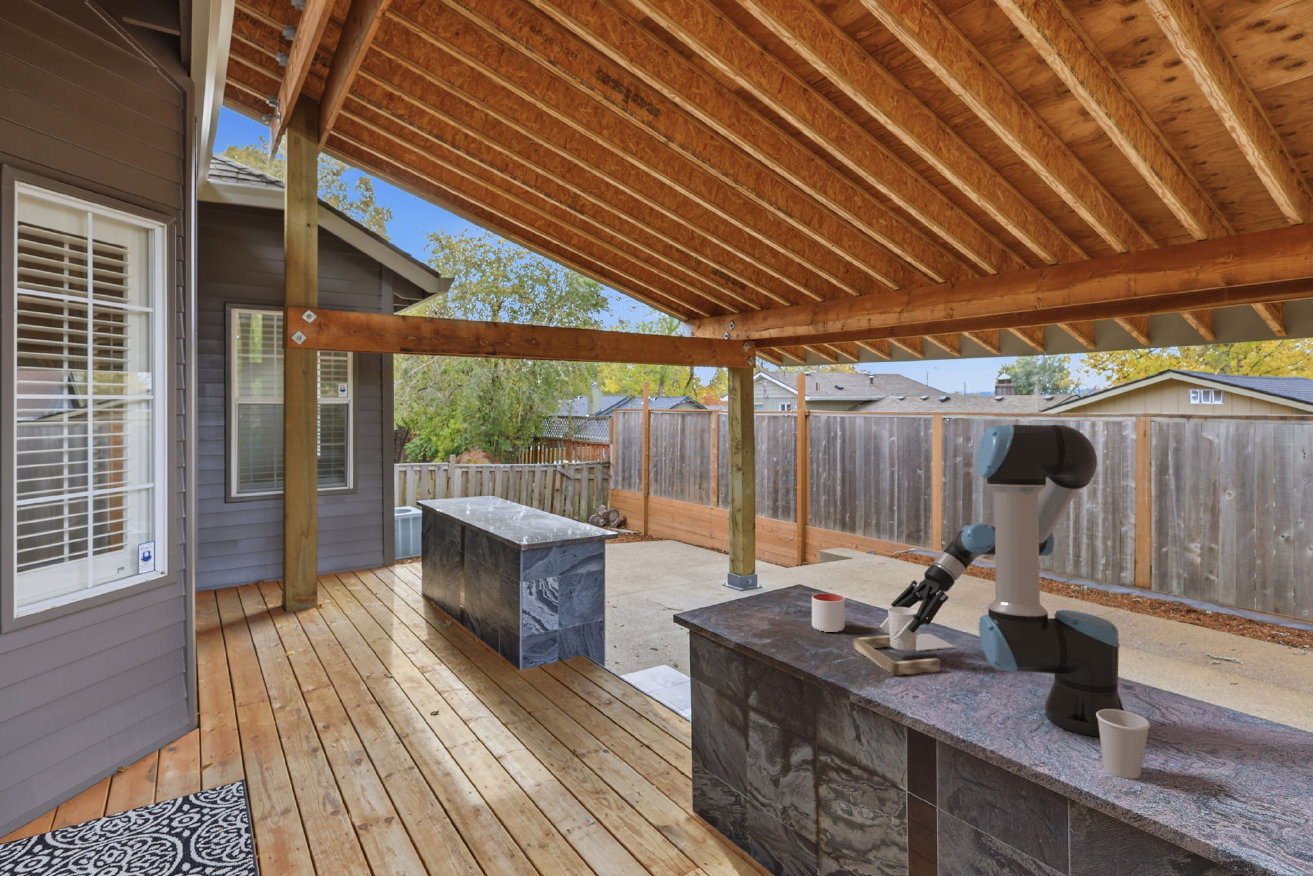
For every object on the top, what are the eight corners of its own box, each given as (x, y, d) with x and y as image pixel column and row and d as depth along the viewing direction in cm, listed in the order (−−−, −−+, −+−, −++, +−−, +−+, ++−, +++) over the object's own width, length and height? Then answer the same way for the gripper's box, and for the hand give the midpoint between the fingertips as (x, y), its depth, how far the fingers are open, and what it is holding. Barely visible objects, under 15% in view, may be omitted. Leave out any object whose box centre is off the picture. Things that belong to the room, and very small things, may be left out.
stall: (894, 644, 197) (894, 634, 197) (939, 671, 177) (939, 659, 177) (852, 648, 194) (852, 638, 194) (893, 675, 174) (893, 664, 174)
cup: (805, 626, 215) (805, 595, 214) (830, 622, 219) (830, 591, 219) (825, 635, 206) (825, 603, 205) (851, 631, 210) (851, 599, 210)
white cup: (913, 642, 190) (913, 607, 189) (921, 652, 182) (922, 615, 182) (884, 641, 190) (884, 606, 190) (891, 651, 183) (891, 614, 182)
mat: (955, 648, 194) (955, 646, 194) (918, 651, 191) (918, 649, 191) (929, 635, 206) (929, 633, 206) (894, 638, 203) (894, 636, 203)
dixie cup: (1127, 759, 131) (1128, 708, 131) (1160, 782, 123) (1161, 727, 123) (1085, 759, 131) (1085, 709, 131) (1115, 783, 123) (1116, 728, 122)
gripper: (977, 590, 179) (923, 655, 176) (929, 574, 199) (880, 632, 196) (960, 571, 178) (905, 636, 175) (913, 556, 198) (863, 615, 195)
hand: (891, 634), depth 185 cm, fingers closed on white cup, 8 cm apart
